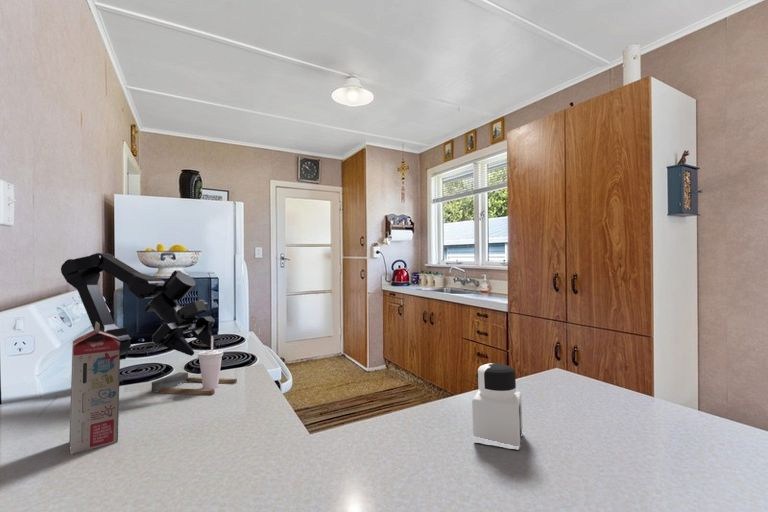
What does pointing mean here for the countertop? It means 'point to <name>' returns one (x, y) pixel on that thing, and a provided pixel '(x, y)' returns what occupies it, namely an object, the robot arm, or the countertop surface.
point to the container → (497, 405)
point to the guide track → (181, 377)
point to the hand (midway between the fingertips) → (204, 350)
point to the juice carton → (94, 390)
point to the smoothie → (210, 367)
